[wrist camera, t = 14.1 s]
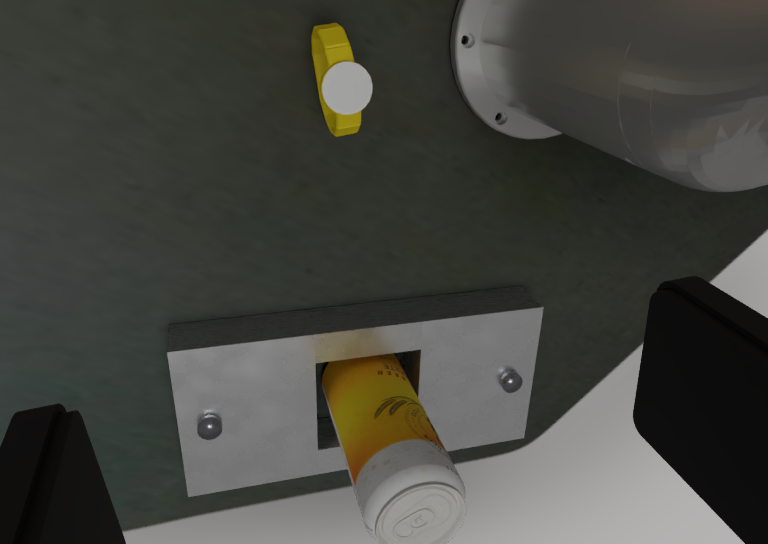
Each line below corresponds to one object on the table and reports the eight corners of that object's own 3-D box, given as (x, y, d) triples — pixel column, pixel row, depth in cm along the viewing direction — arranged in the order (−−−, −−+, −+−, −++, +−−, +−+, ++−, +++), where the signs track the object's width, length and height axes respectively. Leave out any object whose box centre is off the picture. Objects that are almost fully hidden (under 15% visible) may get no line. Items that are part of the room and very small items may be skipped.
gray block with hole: (521, 285, 49) (547, 311, 45) (505, 411, 54) (527, 442, 50) (168, 324, 42) (166, 357, 39) (188, 462, 47) (188, 503, 44)
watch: (294, 27, 37) (310, 28, 31) (340, 20, 37) (363, 20, 32) (313, 130, 39) (330, 146, 34) (356, 122, 40) (380, 137, 34)
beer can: (410, 376, 49) (489, 522, 36) (344, 417, 49) (400, 578, 36) (374, 322, 46) (445, 460, 33) (304, 366, 46) (349, 522, 33)
